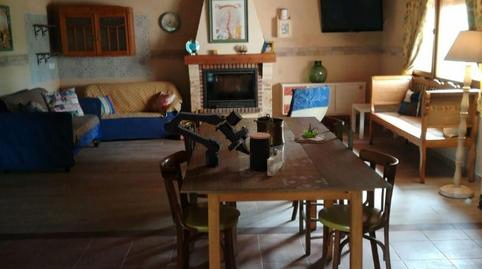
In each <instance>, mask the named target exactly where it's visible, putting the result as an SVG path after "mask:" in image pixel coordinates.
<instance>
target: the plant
mask: <svg viewBox="0 0 482 269" xmlns="http://www.w3.org/2000/svg"><path fill="white" fill-rule="evenodd" d="M308 125H309V126H308V128H307V129H306V130H305V129H304V130H303V133H298V134H297V135H296V136H294V141H295V142H297V143H300V144H315V145H316V144H317V145H318V144H323V143H325V142H326V140H327V138H326V136H325V135H324V134H321V133H319V130H320V128H319V127H313V128H312V123H311V122H309V123H308ZM315 129H316V130H317V131H316V130H315Z"/></svg>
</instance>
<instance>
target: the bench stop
mask: <svg viewBox="0 0 482 269" xmlns="http://www.w3.org/2000/svg"><path fill="white" fill-rule="evenodd" d="M272 151H273V152H272V153H273V154H272V155H270V158H269V159H268V164H267V170H266V172H267V173H266V174H267V176H271V177H274V176H275V175H276V174H277V173H278V171H279V170H280V169H281V167H282V166H283V154H284V153H283V150H281V149H278V148H273V150H272Z"/></svg>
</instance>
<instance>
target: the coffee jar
mask: <svg viewBox="0 0 482 269" xmlns="http://www.w3.org/2000/svg"><path fill="white" fill-rule="evenodd" d="M249 137H250V138H249V146H248V147H249V148H248V150H249V155H248V156H249V168H250V170H251V171H253V172H267V164H268V159H269V158H270V157H271V134H270V133H267V132H253V133H250V134H249Z"/></svg>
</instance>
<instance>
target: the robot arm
mask: <svg viewBox="0 0 482 269" xmlns="http://www.w3.org/2000/svg"><path fill="white" fill-rule="evenodd" d="M242 116H243V115H241V114H240V113H239V112H238V111H235V109H232V110H231V111H230V112H229V114H228V115H223V114H221V113H219V112H210V113H198V112H197V113H196V112H187V111H186V112H185V111H181V112H178V113H177V114H176V115H175V117H173V118H172V119H170V120H168V121H166V122H164V124H163V130H164V132H165V133H169V134H171V135H179V136H180V137H181V136H182V137H184V138H186V139H189V140H191V141H193V142H195V143H198V144H200V145H202V146H204V148H205V149H206V150H205V152H204V154H205V164H204V166H205V167H211V168H212V167H213V168H216V167H218V166H219V165H220V164H221V159H220V158H221V157H220V156H219V154H220V153H219V152H220V150H221V149H222V147H223V143H222V141H221V140H220V138H218V137H215V136H214V135H211V136H210V137H207V136H204V135H202V134H200V133H197V132H196V131H195V132H194V131H192V130H190V129H188V128H186V127H184V126H183V125H181V122H182V121H191V122H201V123H206V124H207V125H211V126H215V127H214V128H215V133H217V132H220V133H221V134H222V135H223V136H224V137H225V140H228V141H229V142H230V144H229V145H228V146H227V150H228V151H229V152H230V153H232V151H238V152H240V153H243V154H245V155H248V156H249V148H248V146H247V144H246V143H247V139H248V138H249V137H250V135H248V134H249V133H250V132H249V127H248V126H245V125H243V126H241V128H240V129H239V130H237V129H234V128H233V127H236V126H237V125H238V124H239V123H241V121H242V120H243V117H242Z"/></svg>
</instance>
